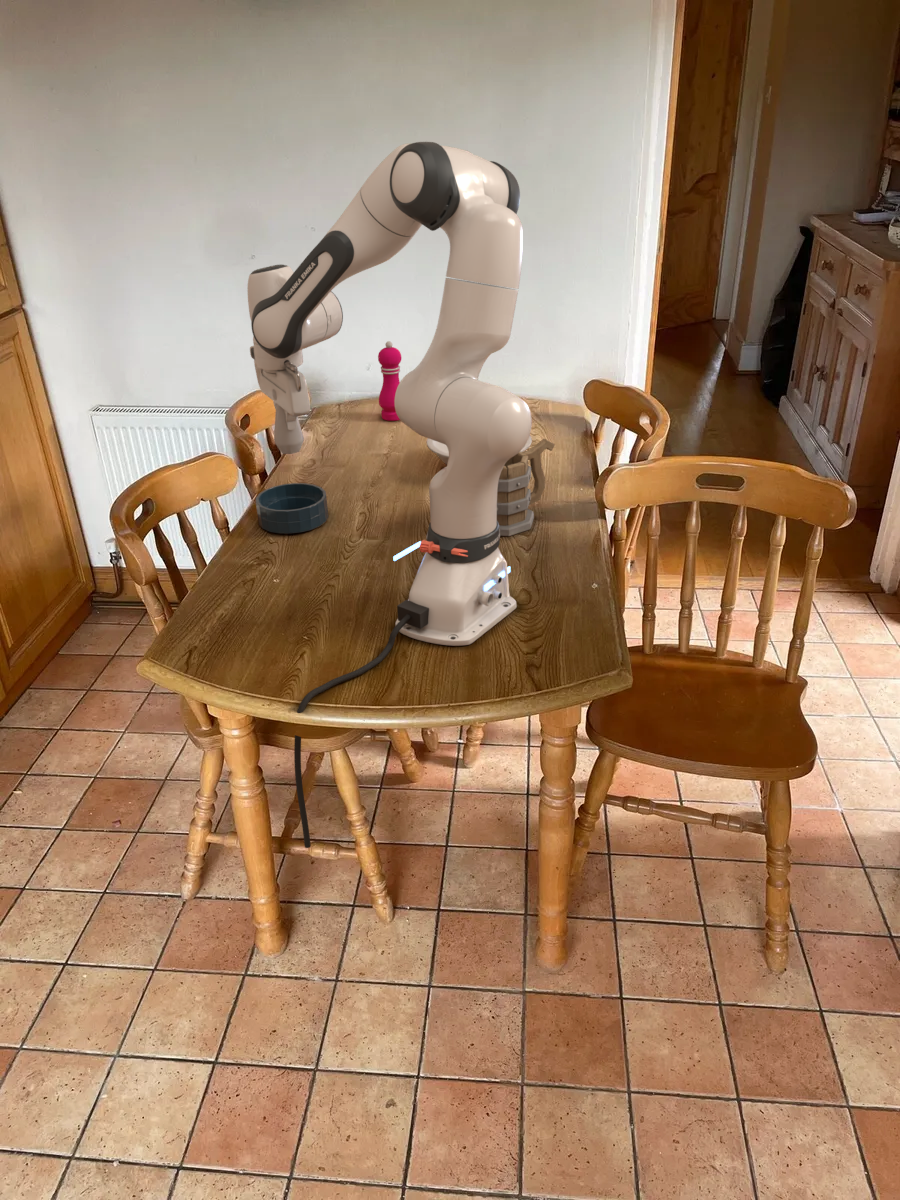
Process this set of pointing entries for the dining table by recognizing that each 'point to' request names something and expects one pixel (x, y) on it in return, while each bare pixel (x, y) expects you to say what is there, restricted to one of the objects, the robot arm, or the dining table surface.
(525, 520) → the tankard
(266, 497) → the glazed bowl
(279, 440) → the salt shaker
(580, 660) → the dining table surface
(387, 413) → the pepper mill
